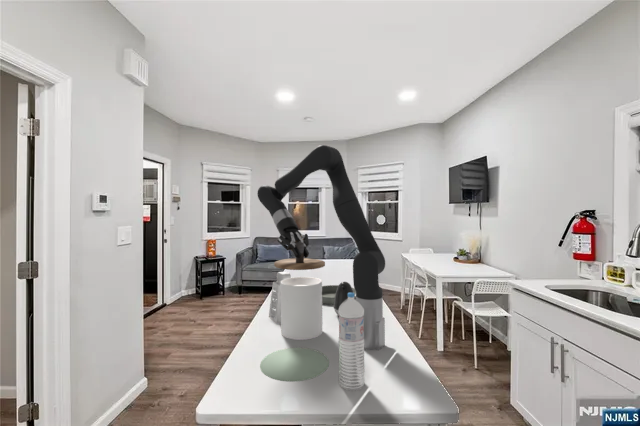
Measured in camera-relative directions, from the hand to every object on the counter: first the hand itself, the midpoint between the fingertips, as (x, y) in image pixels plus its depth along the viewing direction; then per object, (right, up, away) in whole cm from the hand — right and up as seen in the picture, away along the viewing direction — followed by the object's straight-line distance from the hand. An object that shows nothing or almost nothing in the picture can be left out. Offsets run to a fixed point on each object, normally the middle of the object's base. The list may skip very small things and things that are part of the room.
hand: (303, 256), depth 116 cm
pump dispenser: (+17, -30, +24) cm, 42 cm away
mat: (-2, -30, -20) cm, 36 cm away
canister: (-1, -30, +5) cm, 31 cm away
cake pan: (+14, -30, +52) cm, 61 cm away
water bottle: (+15, -31, -32) cm, 47 cm away
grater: (-10, -30, +21) cm, 38 cm away
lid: (-1, -3, +2) cm, 4 cm away
